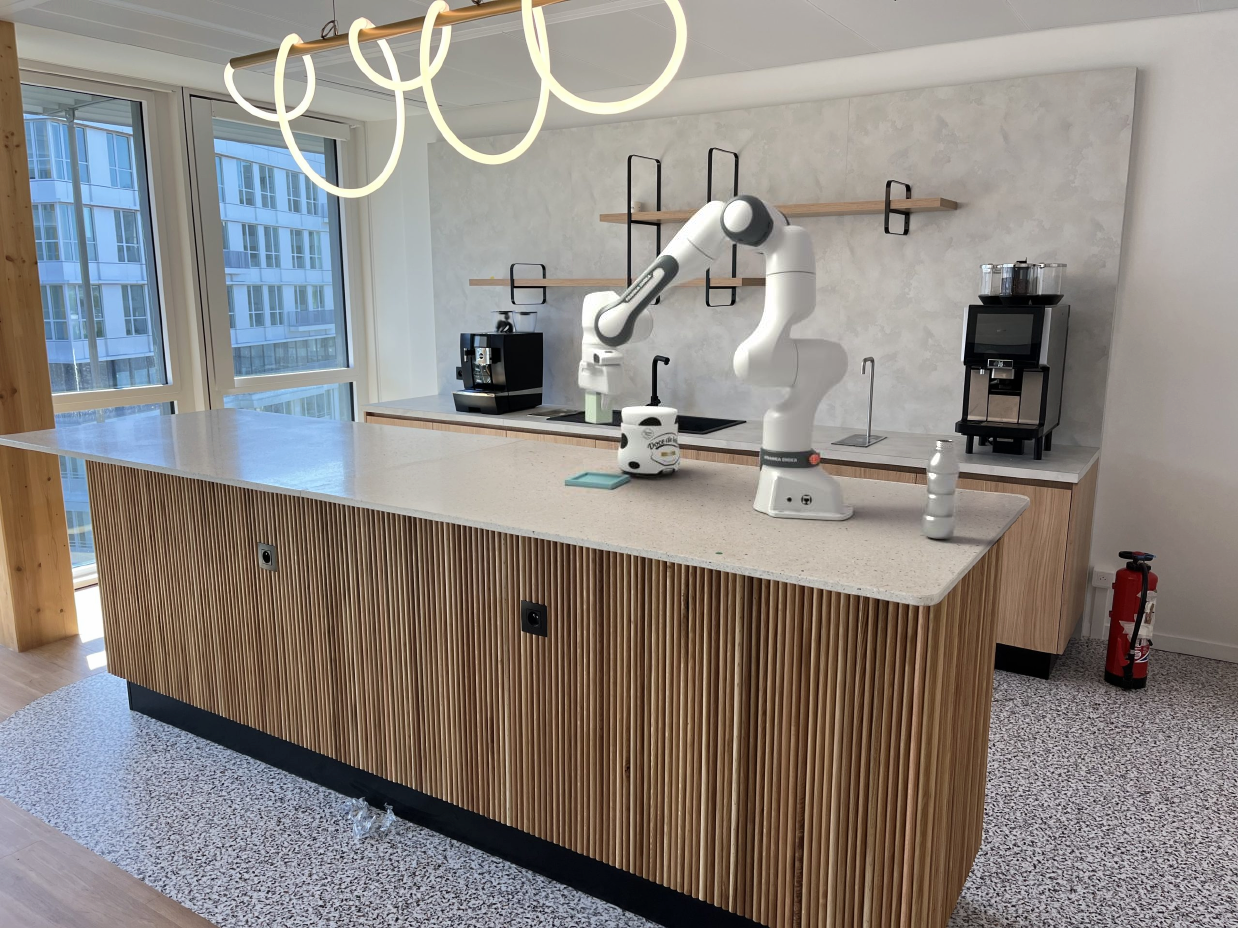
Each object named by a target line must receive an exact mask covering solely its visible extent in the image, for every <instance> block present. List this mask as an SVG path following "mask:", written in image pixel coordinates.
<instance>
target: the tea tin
mask: <svg viewBox="0 0 1238 928" xmlns="http://www.w3.org/2000/svg"><path fill="white" fill-rule="evenodd" d="M584 394H585V397H584V398H585V404H584V405H585V407H584V409H585V413H584V414H585V418H584V419H585V422H587V423H591V424H604V423H605V424H607V423H613V395H611V398H610V401H609V404H608V410H607V411H602V410H600V403H601V401H602V397H601V393H599V392H596V391H592V390H587V389H584Z"/></svg>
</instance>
